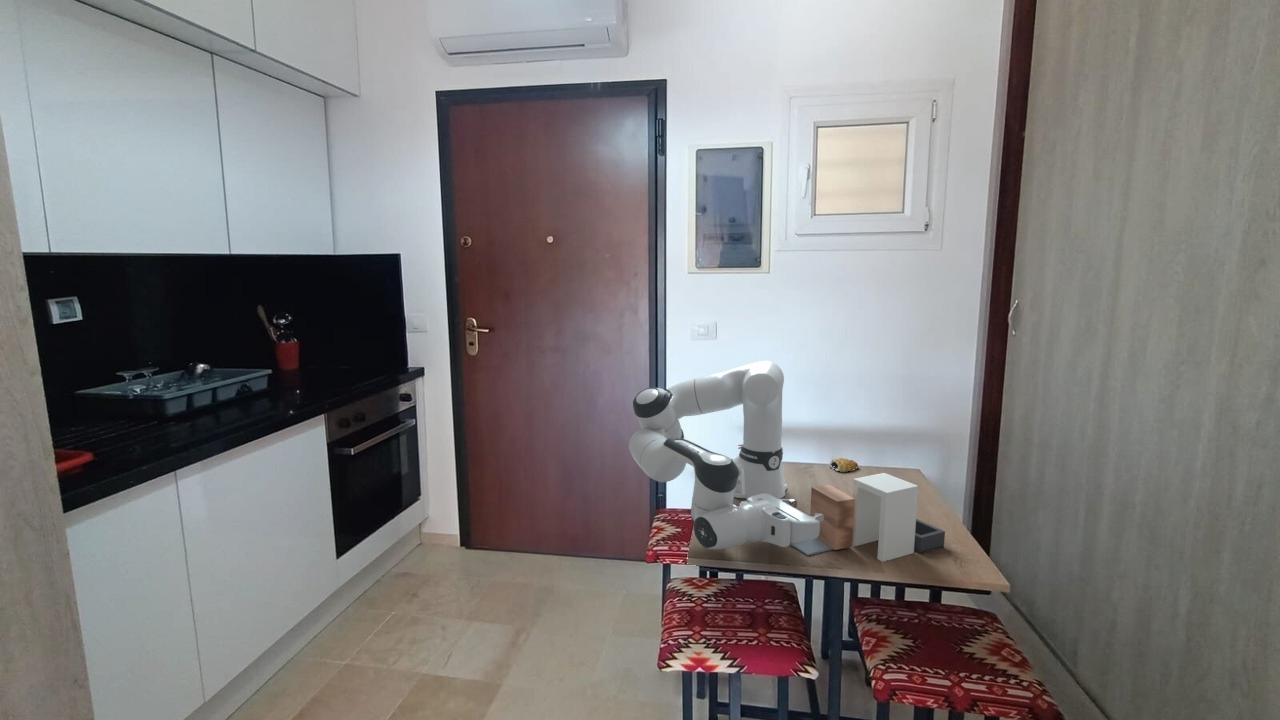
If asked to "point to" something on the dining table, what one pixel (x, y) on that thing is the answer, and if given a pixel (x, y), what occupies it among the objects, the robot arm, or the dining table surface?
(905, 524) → the white arch frame
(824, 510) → the block
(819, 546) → the mat
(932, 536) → the bin
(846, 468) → the pastry
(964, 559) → the dining table surface
